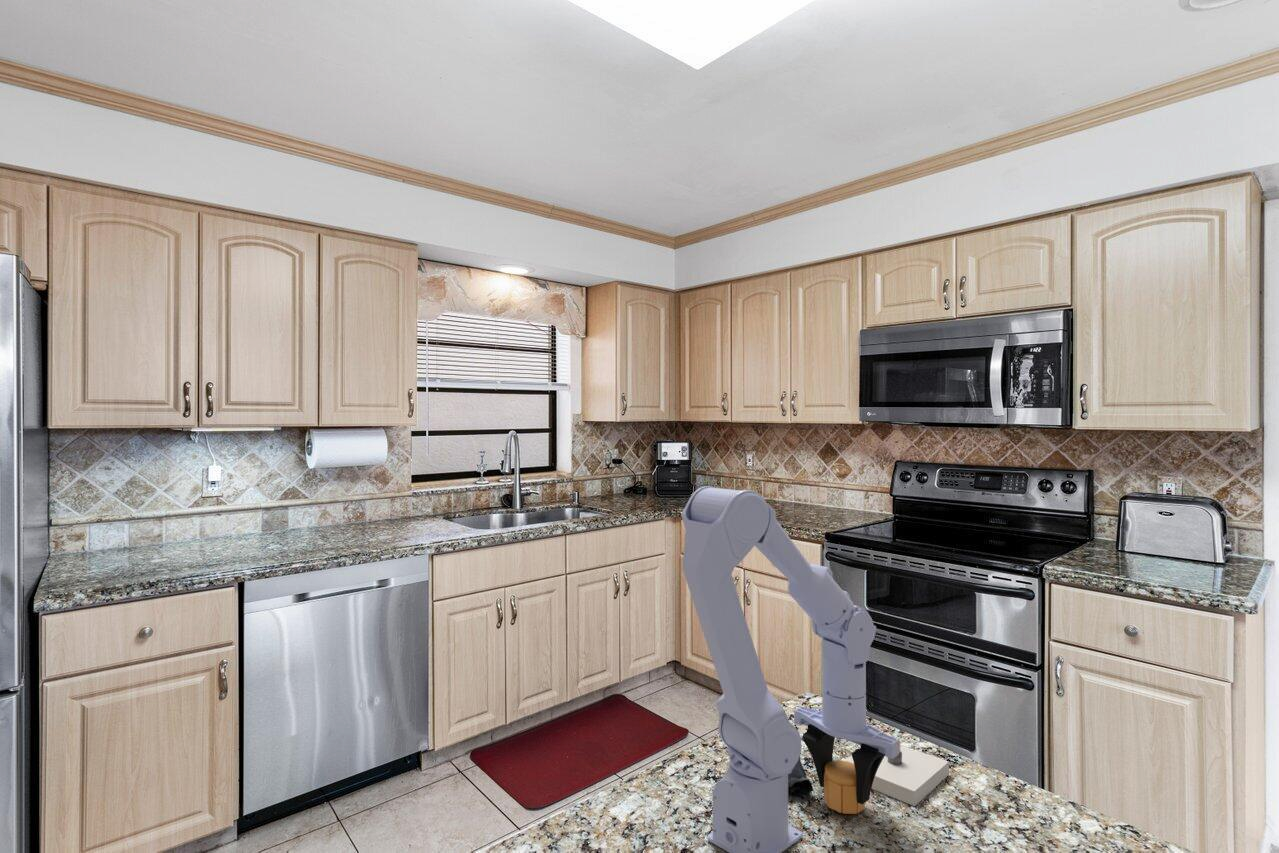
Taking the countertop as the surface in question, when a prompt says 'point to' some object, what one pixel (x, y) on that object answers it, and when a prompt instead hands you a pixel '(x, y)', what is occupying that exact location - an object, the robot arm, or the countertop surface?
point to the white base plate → (909, 775)
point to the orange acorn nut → (841, 787)
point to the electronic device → (799, 780)
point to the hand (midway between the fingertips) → (844, 792)
